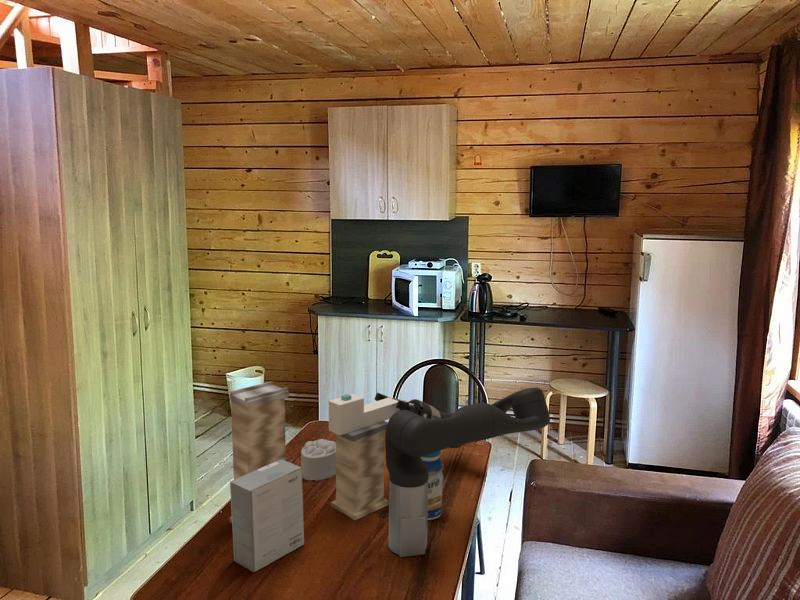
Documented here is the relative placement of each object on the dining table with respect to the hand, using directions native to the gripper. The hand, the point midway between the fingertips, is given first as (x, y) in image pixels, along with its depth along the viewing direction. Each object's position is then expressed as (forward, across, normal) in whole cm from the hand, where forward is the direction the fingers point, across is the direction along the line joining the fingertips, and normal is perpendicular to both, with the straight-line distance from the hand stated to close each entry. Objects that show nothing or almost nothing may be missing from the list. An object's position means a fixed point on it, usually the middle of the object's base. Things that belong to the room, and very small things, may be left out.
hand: (386, 400), depth 179 cm
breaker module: (+5, 0, -8) cm, 9 cm away
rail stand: (+14, +12, -40) cm, 44 cm away
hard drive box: (+21, -3, -44) cm, 49 cm away
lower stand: (-5, 0, -29) cm, 29 cm away
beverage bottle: (-14, -15, -24) cm, 32 cm away
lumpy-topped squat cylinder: (-10, +24, -26) cm, 37 cm away
